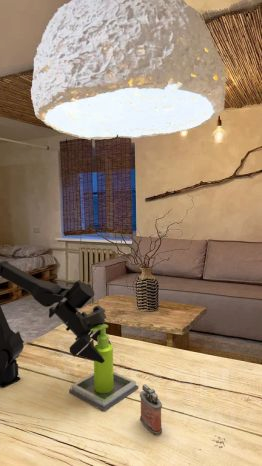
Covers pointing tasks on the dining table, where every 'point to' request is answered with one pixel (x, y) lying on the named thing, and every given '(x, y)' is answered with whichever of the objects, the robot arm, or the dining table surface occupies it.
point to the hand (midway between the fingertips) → (107, 354)
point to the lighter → (150, 410)
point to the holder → (103, 400)
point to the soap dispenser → (105, 369)
